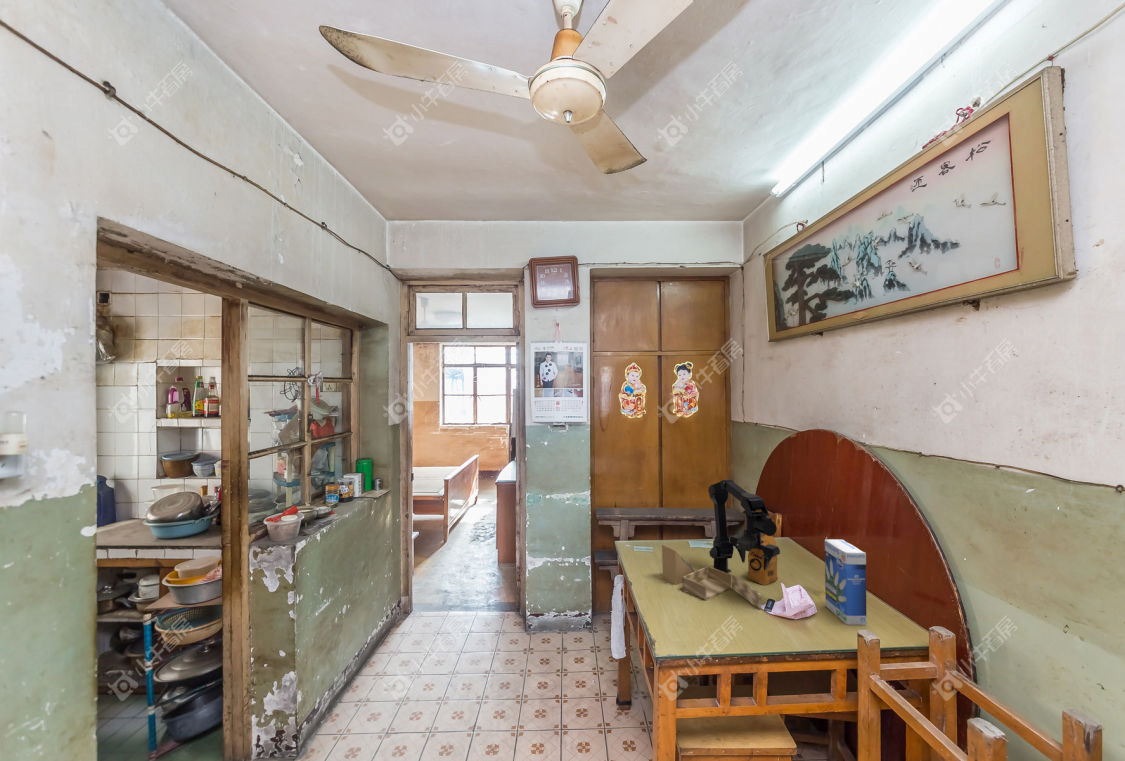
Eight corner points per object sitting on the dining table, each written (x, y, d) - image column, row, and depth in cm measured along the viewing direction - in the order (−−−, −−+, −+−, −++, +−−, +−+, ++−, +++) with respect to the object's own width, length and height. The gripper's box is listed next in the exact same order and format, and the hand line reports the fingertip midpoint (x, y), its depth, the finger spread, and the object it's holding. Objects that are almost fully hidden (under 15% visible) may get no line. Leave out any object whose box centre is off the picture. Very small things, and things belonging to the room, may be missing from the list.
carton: (708, 578, 188) (708, 565, 188) (731, 587, 179) (731, 574, 179) (682, 589, 177) (682, 576, 177) (705, 600, 168) (705, 587, 168)
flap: (732, 588, 177) (731, 575, 178) (734, 588, 178) (733, 575, 178) (759, 609, 161) (759, 594, 161) (761, 608, 161) (761, 594, 161)
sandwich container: (701, 577, 189) (701, 543, 189) (676, 585, 181) (675, 550, 182) (687, 570, 196) (686, 538, 197) (662, 577, 189) (661, 544, 189)
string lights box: (824, 606, 163) (823, 538, 164) (844, 606, 163) (843, 538, 163) (846, 625, 150) (845, 552, 150) (868, 625, 150) (867, 552, 150)
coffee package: (744, 578, 187) (743, 528, 187) (759, 571, 194) (758, 523, 194) (765, 587, 179) (764, 535, 179) (781, 579, 186) (780, 529, 186)
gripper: (721, 525, 175) (722, 563, 175) (765, 538, 160) (766, 580, 159) (736, 520, 181) (737, 557, 181) (780, 532, 166) (781, 572, 166)
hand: (754, 566), depth 172 cm, fingers open, 9 cm apart
